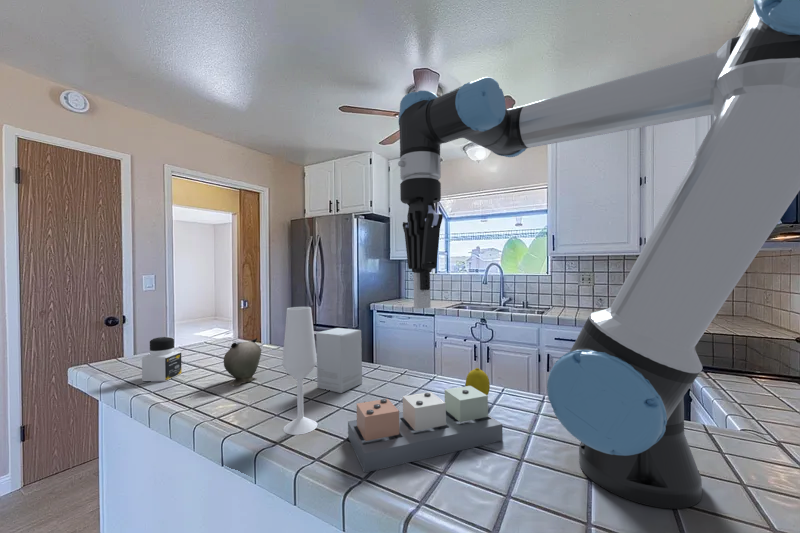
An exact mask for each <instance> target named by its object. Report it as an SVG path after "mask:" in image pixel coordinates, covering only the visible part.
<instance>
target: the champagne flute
mask: <svg viewBox="0 0 800 533" xmlns="http://www.w3.org/2000/svg"><path fill="white" fill-rule="evenodd" d="M312 313H313V312H312V307H311V306H292V307H287V308H286V315H285V317H286V318H285V327H284V328H285V329H284V339H283V350H282V351H283V352H282V363H281V364H282V367H283V369H284V370H285V371H286V373H287V374H288V375H289V376H291V377H292V378H294V379H296V396H297V399H296V400H297V404H296V405H297V408H296V409H297V417H296V418H295V419H292V421H290V422H288V423H287V424H286V425H284V427H283V429H282V430H283V432H284V433H285V434H287V435H293V436H294V435H295V436H296V435H304V434H308V433H310V432H313V431H314V430H315V429H317V427H318V422H317V421H315V420H314V419H311V418H309V417H305V416H304V378H306V377H308V375H310V373H311V372H312V371H313V370H314V368H315V367H316V366H317V347H316V338H315V331H314V330H315V329H314V323H313V322H314V320H313V315H312Z"/></svg>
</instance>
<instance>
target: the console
mask: <svg viewBox="0 0 800 533" xmlns="http://www.w3.org/2000/svg"><path fill="white" fill-rule="evenodd" d="M503 431H504V430H503V423H502V422H500V421H498V420H497V419H496V418H494V417H492V416H491V415H489V414H488V417H484V418H479V419H474V420H469V421H464V422H460V421H458V420H457V419H456V418H455V417H453V416H452V415H451V414H450V413H448V412H447V411H446V425H444V426H439V427H434V428H429V429H424V430H419V431H415V430H414V429H413V428H412V427H411V426H410V425H409V423H408V422H407V421H406V420H405V419H404V418H403V411H399V435H394V436H389V437H384V438H379V439H374V440H369V441H365V440H364V438H363V436H362V434H361V432H360V430H359V429H358V427H357V419H354V420H349V421H348V420H347V437H348V441H349V442H350V444H351V446H352V449H353V450H354V453H355V456H356V457H357V459H358V461H359V463H360V467H361V469H362V471H363V473H368V472H372V471H378V470H381V469H382V470H383V469H386V468H391V467H394V466H398V465H399V466H400V465H403V464H409V463H411V462H416V461H421V460H424V459H430V458H434V457H438V456H442V455H443V456H444V455H446V454H450V453H454V452H455V453H456V452H459V451H465V450H468V449H473V448H476V447H480V446H486V445H489V444H493V443H498V442H502V441H503V440H504V438H503V434H504V433H503Z"/></svg>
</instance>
